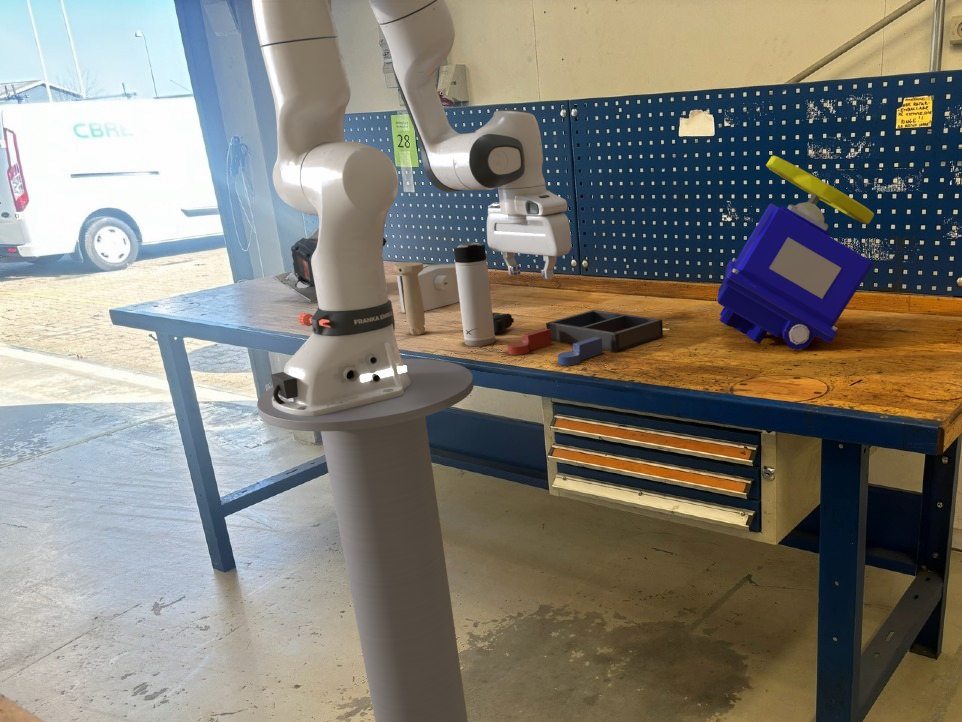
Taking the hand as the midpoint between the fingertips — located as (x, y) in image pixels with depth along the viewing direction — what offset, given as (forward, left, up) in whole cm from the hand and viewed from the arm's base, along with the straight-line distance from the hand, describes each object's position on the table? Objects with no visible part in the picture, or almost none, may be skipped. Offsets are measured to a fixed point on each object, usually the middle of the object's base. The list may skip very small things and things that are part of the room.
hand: (531, 276), depth 163 cm
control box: (+34, -37, -14) cm, 52 cm away
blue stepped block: (-2, -14, -14) cm, 20 cm away
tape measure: (+4, +17, -14) cm, 22 cm away
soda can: (+34, +62, -14) cm, 72 cm away
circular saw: (+11, +93, -14) cm, 95 cm away
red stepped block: (-2, 0, -14) cm, 14 cm away
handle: (-6, +32, -14) cm, 35 cm away
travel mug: (-4, +13, -14) cm, 19 cm away
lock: (+15, +53, -14) cm, 57 cm away
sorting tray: (+12, -7, -14) cm, 20 cm away
